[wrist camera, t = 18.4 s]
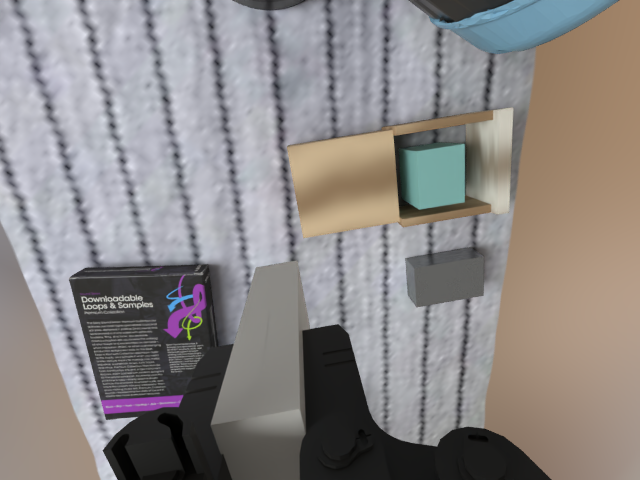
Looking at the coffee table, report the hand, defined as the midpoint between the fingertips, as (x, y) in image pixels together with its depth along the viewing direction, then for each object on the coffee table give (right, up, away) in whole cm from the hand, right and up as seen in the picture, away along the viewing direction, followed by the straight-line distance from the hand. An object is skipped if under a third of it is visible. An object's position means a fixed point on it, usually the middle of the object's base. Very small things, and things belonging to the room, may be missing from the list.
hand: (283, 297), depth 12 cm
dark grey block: (+16, -2, +28) cm, 32 cm away
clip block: (+10, +9, +21) cm, 25 cm away
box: (-18, -10, +28) cm, 35 cm away
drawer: (+9, +9, +23) cm, 27 cm away
